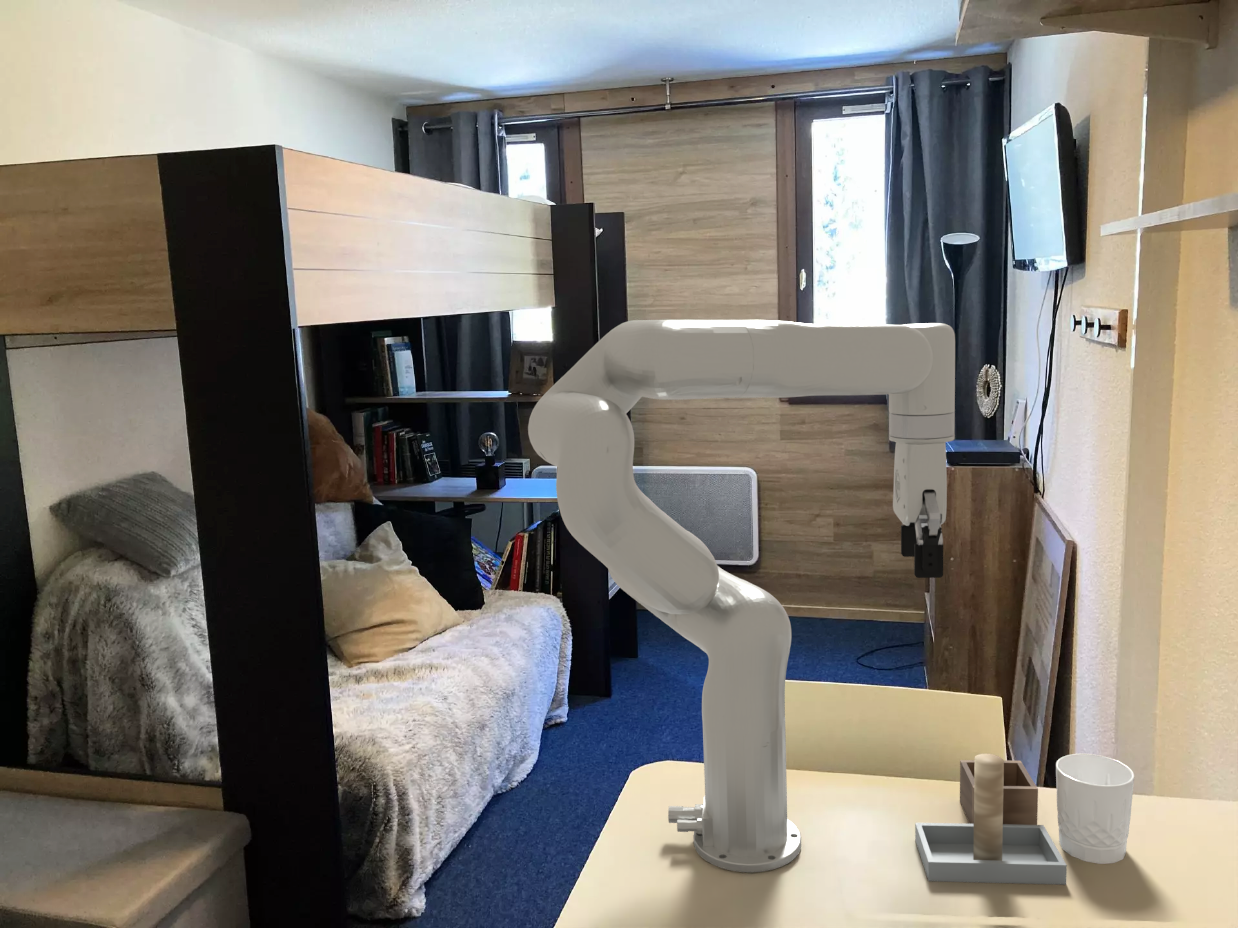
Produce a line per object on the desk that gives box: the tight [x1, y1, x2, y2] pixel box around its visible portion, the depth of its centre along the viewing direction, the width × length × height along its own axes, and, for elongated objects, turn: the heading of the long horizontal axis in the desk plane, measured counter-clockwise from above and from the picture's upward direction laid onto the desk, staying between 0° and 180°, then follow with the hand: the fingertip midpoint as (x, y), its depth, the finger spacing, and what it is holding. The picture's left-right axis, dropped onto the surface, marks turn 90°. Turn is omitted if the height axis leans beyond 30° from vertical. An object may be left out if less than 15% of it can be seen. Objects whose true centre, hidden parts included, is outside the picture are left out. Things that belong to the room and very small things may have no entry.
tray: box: [914, 822, 1068, 886], centre depth 110 cm, size 14×8×3 cm, turn 83°
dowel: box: [973, 753, 1005, 861], centre depth 109 cm, size 3×3×12 cm
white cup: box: [1055, 753, 1135, 865], centre depth 111 cm, size 8×8×10 cm
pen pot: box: [959, 759, 1039, 825], centre depth 119 cm, size 7×7×6 cm
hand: (921, 566), depth 121 cm, fingers open, 9 cm apart
